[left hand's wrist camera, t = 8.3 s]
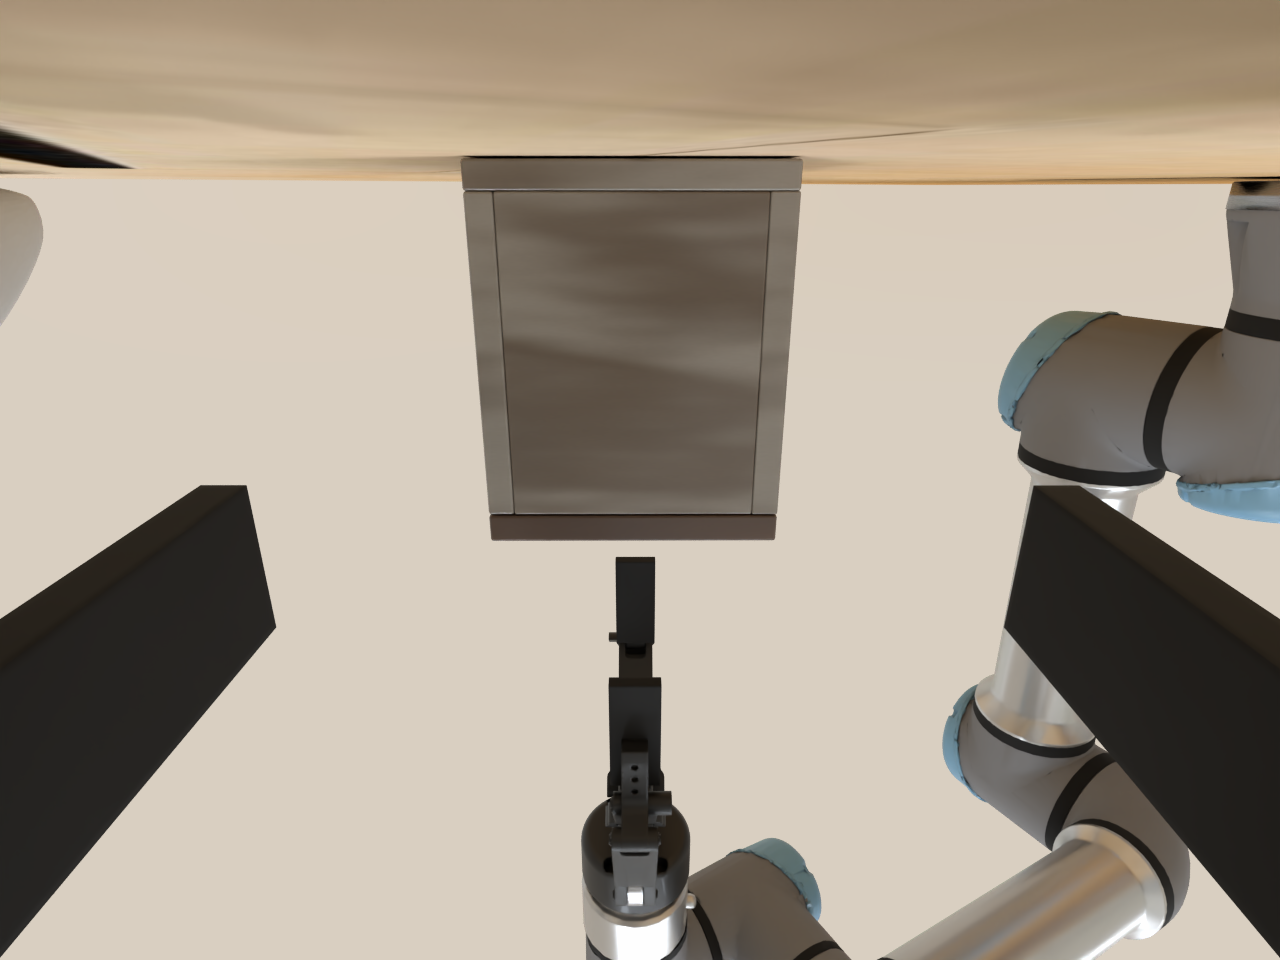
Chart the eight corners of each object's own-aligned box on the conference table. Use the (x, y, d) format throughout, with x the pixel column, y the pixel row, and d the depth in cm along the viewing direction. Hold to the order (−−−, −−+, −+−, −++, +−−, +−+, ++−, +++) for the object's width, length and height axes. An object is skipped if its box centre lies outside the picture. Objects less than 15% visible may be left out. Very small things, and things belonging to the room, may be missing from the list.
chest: (729, 173, 36) (720, 385, 40) (538, 172, 36) (547, 385, 40) (804, 158, 20) (777, 514, 24) (459, 158, 20) (488, 515, 24)
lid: (719, 381, 41) (713, 517, 44) (549, 381, 41) (555, 517, 44) (777, 516, 24) (761, 721, 27) (488, 516, 24) (505, 721, 27)
